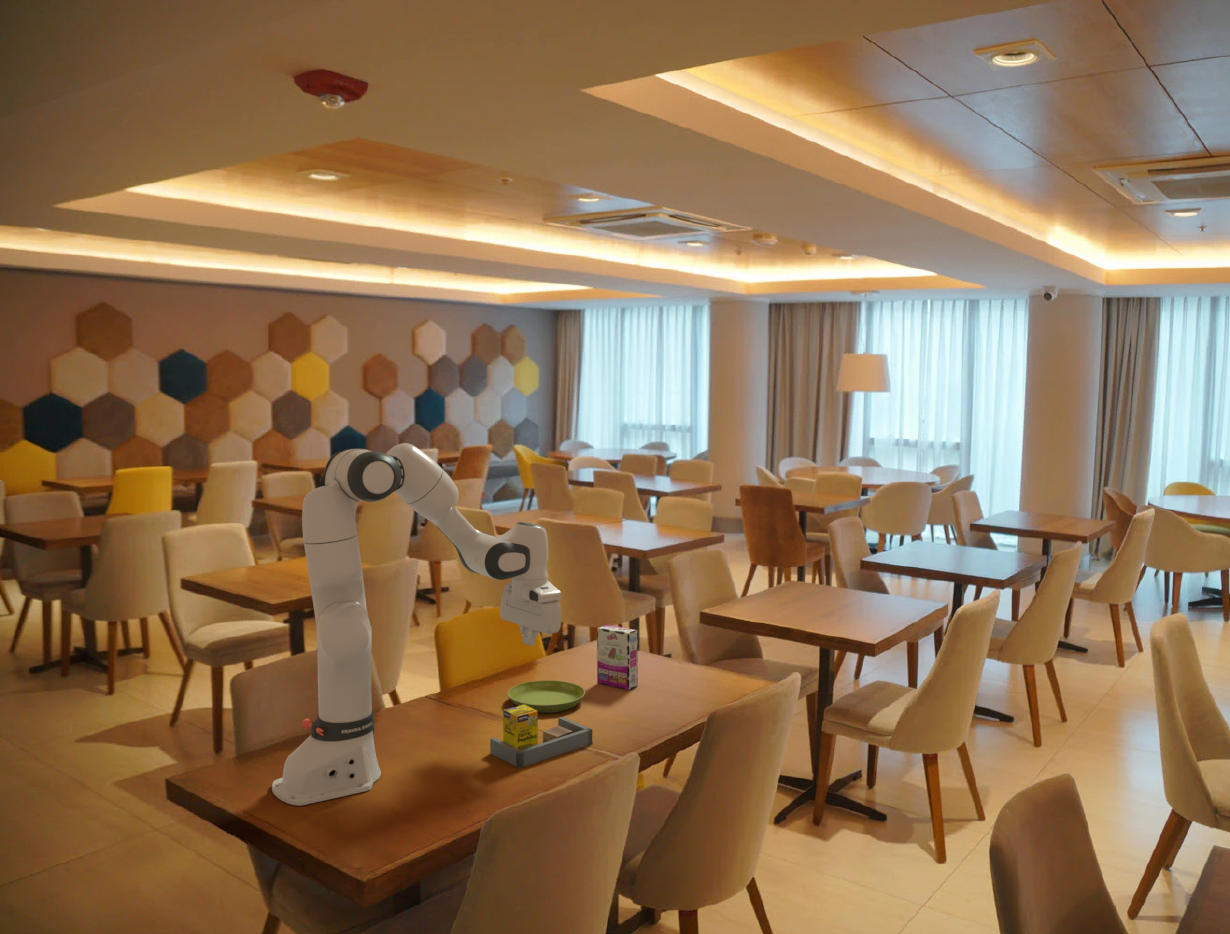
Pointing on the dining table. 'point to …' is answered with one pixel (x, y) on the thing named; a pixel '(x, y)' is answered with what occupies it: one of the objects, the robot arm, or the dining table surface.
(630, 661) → the candy bar box
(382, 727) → the dining table surface
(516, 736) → the supplement box
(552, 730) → the walnut tile
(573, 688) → the saucer
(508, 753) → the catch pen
